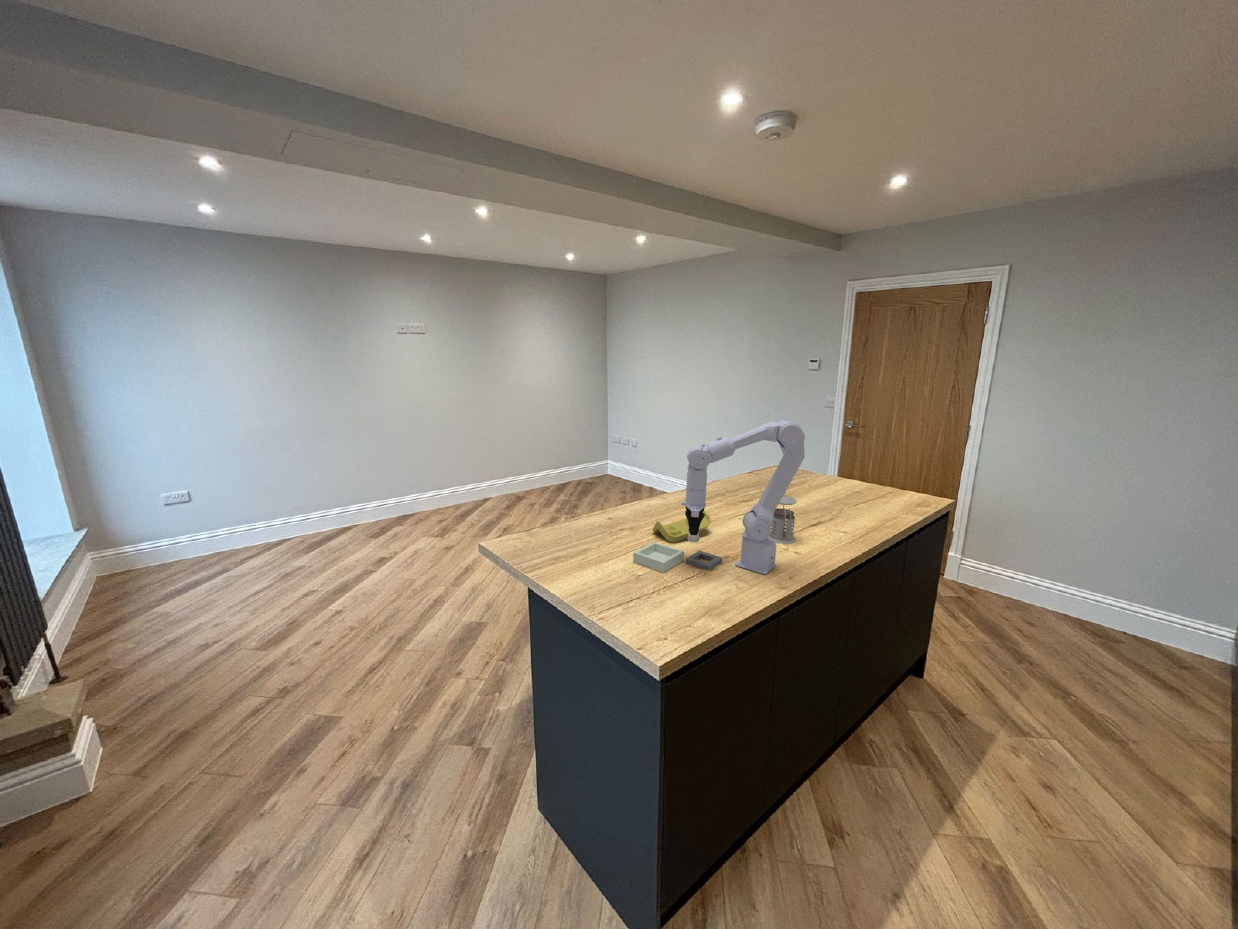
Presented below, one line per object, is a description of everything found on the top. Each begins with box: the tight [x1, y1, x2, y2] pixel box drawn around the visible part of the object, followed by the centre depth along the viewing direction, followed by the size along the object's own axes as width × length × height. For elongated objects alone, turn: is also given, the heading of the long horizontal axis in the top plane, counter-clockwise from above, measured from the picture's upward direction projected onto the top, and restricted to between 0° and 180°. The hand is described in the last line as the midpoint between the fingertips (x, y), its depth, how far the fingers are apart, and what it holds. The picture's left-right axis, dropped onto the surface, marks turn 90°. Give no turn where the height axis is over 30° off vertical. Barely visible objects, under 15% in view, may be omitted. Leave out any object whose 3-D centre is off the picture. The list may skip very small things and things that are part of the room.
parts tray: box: [632, 541, 685, 573], centre depth 139 cm, size 11×11×3 cm
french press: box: [768, 493, 798, 545], centre depth 155 cm, size 10×12×25 cm
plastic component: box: [651, 510, 712, 543], centre depth 161 cm, size 20×7×10 cm
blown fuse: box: [687, 528, 700, 543], centre depth 136 cm, size 3×3×6 cm
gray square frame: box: [685, 550, 723, 572], centre depth 138 cm, size 8×8×2 cm
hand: (693, 532), depth 137 cm, fingers closed on blown fuse, 3 cm apart
